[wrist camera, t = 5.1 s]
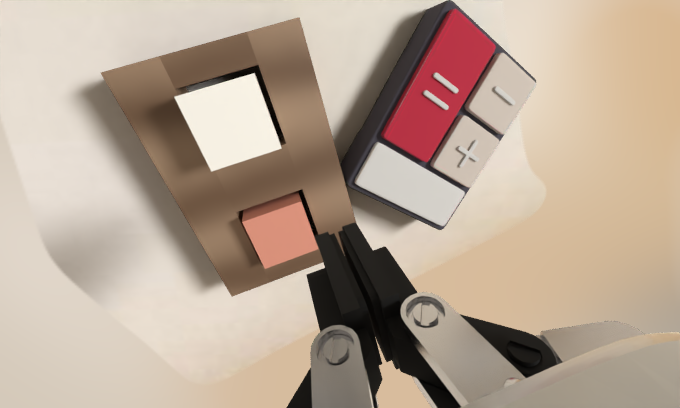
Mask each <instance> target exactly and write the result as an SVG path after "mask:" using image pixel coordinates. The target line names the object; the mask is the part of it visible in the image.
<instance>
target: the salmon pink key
mask: <svg viewBox="0 0 680 408" xmlns="http://www.w3.org/2000/svg"><path fill="white" fill-rule="evenodd" d="M242 223H243V225H244V227H245V229H246V231H247V233H248V235H249V237H250V239H251V241H252V243H253V246H254V248H255V250H256V252H257V254H258V256H259V258H260V260H261V262H262V264H263V266H264V268H265V269H266V268H269V267H272V266H274V265H277V264H280V263H282V262H285V261H288V260H290V259H293V258H296V257H299V256H301V255H304V254H307V253H309V252H312V251H315V250H317V249H318V246H317V243H316V240H315V237H314V234H313V231H312V229H311V226H310V223H309V220H308V217H307V215H306V212H305V209H304V206H303V204H302V201H301V198H300V195H299V193H298V191H296V192H293V193H290V194H287V195H284V196H281V197H278V198H276V199H273V200H270V201H267V202H264V203H261V204H258V205H255V206H252V207H250V208H247V209H244V210H243V218H242Z"/></svg>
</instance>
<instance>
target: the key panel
mask: <svg viewBox="0 0 680 408" xmlns="http://www.w3.org/2000/svg"><path fill="white" fill-rule="evenodd" d="M255 66H259V69H260V72H261V75H262V77H263V80H264V83H265V86H266V89H267V91H268V94H269V97H270V100H271V103H272V106H273V108H274V111H275V114H276V117H277V120H278V122H279V125H280V128H281V131H282V134H283V136H281V137H278V138H279V142H280V145H281V148H282V149H279V150H276V151H273V152H270V153H267V154H264V155H260V156H257V157H254V158H251V159H248V160H245V161H242V162H239V163H236V164H233V165H230V166H227V167H224V168H221V169H218V170H215V171H212V172H211V170H210V168H209V166H208V164H207V162H206V160H205V158H204V156H203V154H202V152H201V150H200V148H199V146H198V144H197V142H196V140H195V138H194V136H193V134H192V132H191V130H190V128H189V126H188V124H187V122H186V120H185V118H184V116H183V114H182V112H181V110H180V108H179V106H178V104H177V102H176V100H175V98H174V97H175V96H179V95H182V94H185V93H188V91H187V89H186V87H187V86H191V85H194V84H197V83H201V82H204V81H208V80H211V79H214V78H218V77H221V76H225V75H228V74H231V73H235V72H238V71H242V70H245V69H249V68H252V67H255ZM101 74H102V76H103V78H104V80H105V81H106V83H107V85H108V86H109V88H110V90H111V92H112V93H113V95H114V97H115V98H116V100H117V102H118V103H119V105H120V107H121V109H122V110H123V112H124V114H125V115H126V117H127V119H128V120H129V122H130V124H131V126H132V127H133V129H134V131H135V132H136V134H137V136H138V137H139V139H140V141H141V143H142V144H143V146H144V148H145V149H146V151H147V153H148V155H149V156H150V158H151V160H152V161H153V163H154V165H155V166H156V168H157V170H158V172H159V173H160V175H161V177H162V178H163V180H164V182H165V183H166V185H167V187H168V189H169V190H170V192H171V194H172V195H173V197H174V199H175V200H176V202H177V204H178V206H179V207H180V209H181V211H182V212H183V214H184V216H185V218H186V219H187V221H188V223H189V224H190V226H191V228H192V229H193V231H194V233H195V235H196V236H197V238H198V240H199V241H200V243H201V245H202V246H203V248H204V250H205V252H206V253H207V255H208V257H209V258H210V260H211V262H212V263H213V265H214V267H215V269H216V270H217V272H218V274H219V275H220V277H221V279H222V281H223V282H224V284H225V286H226V287H227V289H228V291H229V292H230V294H231V296H235V295H237V294H240V293H243V292H245V291H248V290H251V289H253V288H256V287H258V286H261V285H264V284H266V283H269V282H272V281H274V280H277V279H280V278H282V277H285V276H288V275H290V274H293V273H295V272H298V271H301V270H303V269H306V268H309V267H311V266H314V265H317V264H319V263H322V262H323V259H322V256H321V253H320V250H319V247H318V249H317V250H315V251H312V252H309V253H307V254H304V255H301V256H299V257H296V258H293V259H290V260H288V261H285V262H282V263H280V264H277V265H274V266H272V267H269V268H266V269H265V268H264V266H263V264H262V262H261V260H260V258H259V256H258V254H257V252H256V250H255V248H254V246H253V243H252V241H251V239H250V237H249V235H248V233H247V231H246V229H245V227H244V225H243V223H242V218H243V210H244V209H247V208H250V207H252V206H255V205H258V204H261V203H264V202H267V201H270V200H273V199H276V198H278V197H281V196H284V195H287V194H290V193H293V192H296V191H299V190H301V189H302V190H303V193H304V196H305V199H306V201H307V204H308V207H309V210H310V213H311V216H312V218H313V221H314V224H315V228H312V231H313V234H314V237H315V236H316V235H319V234H322V233H325V232H328V233H329V235H330V234H333V233H334V234H335V236H336V238H337V240H338V242H339V245H340V247H341V249H342V251H343V248H342V245H341V241H340V237H339V234H338V232H339V231H342V226H345V225H348V224H351V223H354V222H355V223H356V221H355V217H354V213H353V210H352V206H351V202H350V199H349V195H348V192H347V188H346V184H345V181H344V177H343V174H342V170H341V166H340V163H339V159H338V155H337V152H336V148H335V145H334V141H333V137H332V134H331V130H330V127H329V123H328V119H327V116H326V112H325V108H324V105H323V101H322V98H321V94H320V90H319V87H318V83H317V79H316V76H315V72H314V69H313V65H312V61H311V58H310V54H309V51H308V47H307V43H306V40H305V36H304V32H303V29H302V25H301V22H300V18H295V19H292V20H288V21H284V22H281V23H277V24H274V25H270V26H266V27H263V28H259V29H256V30H252V31H249V32H245V33H241V34H238V35H234V36H231V37H227V38H223V39H220V40H216V41H213V42H209V43H206V44H202V45H198V46H195V47H191V48H188V49H184V50H180V51H177V52H173V53H170V54H166V55H163V56H159V57H155V58H152V59H148V60H145V61H141V62H137V63H134V64H130V65H127V66H123V67H120V68H116V69H112V70H109V71H105V72H102V73H101ZM315 240H316V238H315ZM316 243H317V241H316ZM317 246H318V244H317ZM343 253H344V252H343Z"/></svg>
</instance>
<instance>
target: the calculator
mask: <svg viewBox="0 0 680 408" xmlns="http://www.w3.org/2000/svg"><path fill="white" fill-rule="evenodd" d="M535 87H536V80H535V79H534V78H533V77H532V76H531V75H530V74H529V73H528V72H527V71H526V70H525V69H524V68H523V67H522V66H521V65H520V64H519V63H518V62H516V61H515V60H514V59H513V58H512V57H511V56H510V55H509V54H508V53H507V52H506V51H505V50H504V49H503V48H502V47H501V46H500V45H498V44H497V43H496V42H495V41H494V40H493V39H492V38H491V37H490V36H489V35H488V34H487V33H486V32H485V31H484V30H483V29H481V28H480V27H479V26H478V25H477V24H476V23H475V22H474V21H473V20H472V19H471V18H470V17H469V16H468V15H467V14H466V13H465V12H463V11H462V10H461V9H460V8H459V7H458V6H457V5H456V4H455V3H454V2H453V1H451V0H448V1H445V2H443V3H441V4H438V5H436V6H434V7H432V8H430V9H428V10H427V11H426V12H425V14H424V15H423V17H422V19H421V21H420V23H419V24H418V26H417V28H416V30H415V32H414V33H413V35H412V37H411V39H410V40H409V42H408V44H407V46H406V48H405V49H404V51H403V53H402V55H401V57H400V58H399V60H398V62H397V64H396V66H395V68H394V69H393V71H392V73H391V75H390V77H389V79H388V81H387V82H386V84H385V86H384V88H383V90H382V92H381V94H380V95H379V97H378V99H377V101H376V103H375V105H374V107H373V109H372V110H371V112H370V114H369V116H368V118H367V120H366V122H365V123H364V125H363V127H362V129H361V130H360V131H359V132H358V134H357V135H356V137H355V139H354V141H353V143H352V144H351V146H350V148H349V150H348V152H347V153H346V155H345V157H344V159H343V161H342V162H341V164H340V166H341V170H342V174H343V177H344V181H345V183H346V184H347V185H348V186H349V187H350V188H352V189H354V190H356V191H358V192H361V193H363V194H365V195H367V196H369V197H371V198H373V199H375V200H377V201H379V202H382V203H384V204H386V205H388V206H390V207H392V208H394V209H396V210H398V211H400V212H402V213H405V214H407V215H409V216H411V217H413V218H415V219H417V220H419V221H421V222H423V223H426V224H428V225H430V226H432V227H434V228H436V229H438V230H442V229H443V228H444V227H445V226H446V224H447V223H448V221H449V220H450V218H451V217H452V215H453V213H454V212H455V210H456V209H457V207H458V206H459V204H460V203H461V201H462V199H463V198H464V196H465V195H466V193H467V192H468V190H469V189H470V187H471V186H472V185H473V184H474V182H475V180H476V179H477V177H478V176H479V174H480V173H481V171H482V170H483V168H484V166H485V165H486V163H487V162H488V160H489V159H490V157H491V156H492V154H493V152H494V151H495V149H496V148H497V146H498V144H499V142H500V140H501V139H502V137H503V136H504V134H505V133H506V132H507V131H508V129H509V128H510V126H511V124H512V123H513V121H514V120H515V118H516V117H517V115H518V114H519V112H520V110H521V109H522V107H523V106H524V104H525V103H526V101H527V99H528V98H529V96H530V95H531V93H532V91H533V90H534V89H535Z"/></svg>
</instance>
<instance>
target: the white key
mask: <svg viewBox="0 0 680 408" xmlns="http://www.w3.org/2000/svg"><path fill="white" fill-rule="evenodd" d="M174 98H175V100H176V102H177V104H178V106H179V108H180V110H181V112H182V114H183V116H184V118H185V120H186V122H187V124H188V126H189V128H190V130H191V132H192V134H193V136H194V138H195V140H196V142H197V144H198V146H199V148H200V150H201V152H202V154H203V156H204V158H205V160H206V162H207V164H208V166H209V168H210V170H211V172H212V171H215V170H218V169H221V168H224V167H227V166H230V165H233V164H236V163H239V162H242V161H245V160H248V159H251V158H254V157H257V156H260V155H264V154H267V153H270V152H273V151H276V150H279V149H282V148H281V145H280V142H279V138H278V135H277V133H276V130H275V127H274V124H273V122H272V119H271V116H270V113H269V111H268V108H267V105H266V102H265V100H264V97H263V94H262V91H261V89H260V86H259V83H258V80H257V78H256V75H255V73H253V74H250V75H246V76H243V77H239V78H236V79H233V80H229V81H226V82H222V83H219V84H216V85H212V86H209V87H206V88H202V89H199V90H195V91H192V92H189V93H185V94H182V95H179V96H175V97H174Z"/></svg>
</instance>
